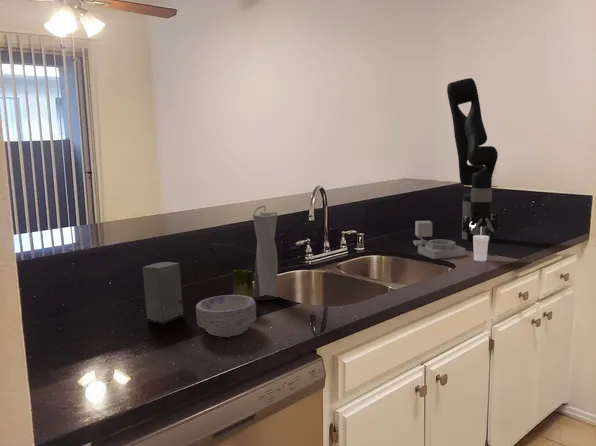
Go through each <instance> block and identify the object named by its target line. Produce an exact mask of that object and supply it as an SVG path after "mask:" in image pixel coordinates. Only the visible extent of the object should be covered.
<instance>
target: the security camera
mask: <svg viewBox="0 0 596 446" xmlns="http://www.w3.org/2000/svg"><path fill="white" fill-rule="evenodd" d="M414 224H415V229H414V230H415V231H414V234H415V236H416V237H417V238H419V239H420V240H419V239H417V240H413V244H414V245H415V246H417V247H418V246H421V244H425V245H427V242H428V240H425V239H424V238H425V237H426V238H427V237H431V238H433V222H432V221H431V220H415V223H414ZM423 237H424V238H423Z"/></svg>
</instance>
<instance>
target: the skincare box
mask: <svg viewBox="0 0 596 446" xmlns="http://www.w3.org/2000/svg"><path fill="white" fill-rule="evenodd" d="M142 276H143V288H144V299H145V311H146V320H147V319H151V320H154V321H159V322H164V321H167V320H170V319H172V318H174V317H177V316H179V315H182V314H183V315H184V307H183V295H182V294H183V293H182V292H183V291H182V282H181V278H182V277H181V267H180V262H173V261H172V262H171V261H161V262H157V263H151V264H149V265H144V266H142Z"/></svg>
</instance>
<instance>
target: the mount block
mask: <svg viewBox="0 0 596 446" xmlns="http://www.w3.org/2000/svg"><path fill="white" fill-rule="evenodd" d="M417 253H418V254H420V255H423V256H426V257H427V258H430V259H434V260H439V259H441V260H442V259H446V258H456V257H465V256H466V247H462V246H459V245H457V244H456V241H453V240H451V239H442V238H441V239H439V238H438V239H437V238H436V239H430V240H427V245H425V244H421V246H417Z"/></svg>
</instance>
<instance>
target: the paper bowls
mask: <svg viewBox="0 0 596 446" xmlns="http://www.w3.org/2000/svg"><path fill="white" fill-rule="evenodd" d="M195 313H196V325H198V327H200V328H202V329H204V330H205V331H206V333H207V332H208V333H209V334H208V333H207V334H208V335H210V334H212V335H217V336H231V335H237V334H240V333H243V332H244V331H246V330H247V331H248V329H249V326H250V325H252V324H253V323H255V322H256V320H257V305H256V301H255V300H254V299H253V298H251V297H248V296H243V295H233V294H226V295H225V294H224V295H217V296H212V297H208V298H204V299H202V300H201V301H199V302H198V303H197V304H196V305H195ZM247 331H246V332H247ZM244 333H245V332H244ZM244 333H243V334H244Z"/></svg>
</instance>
